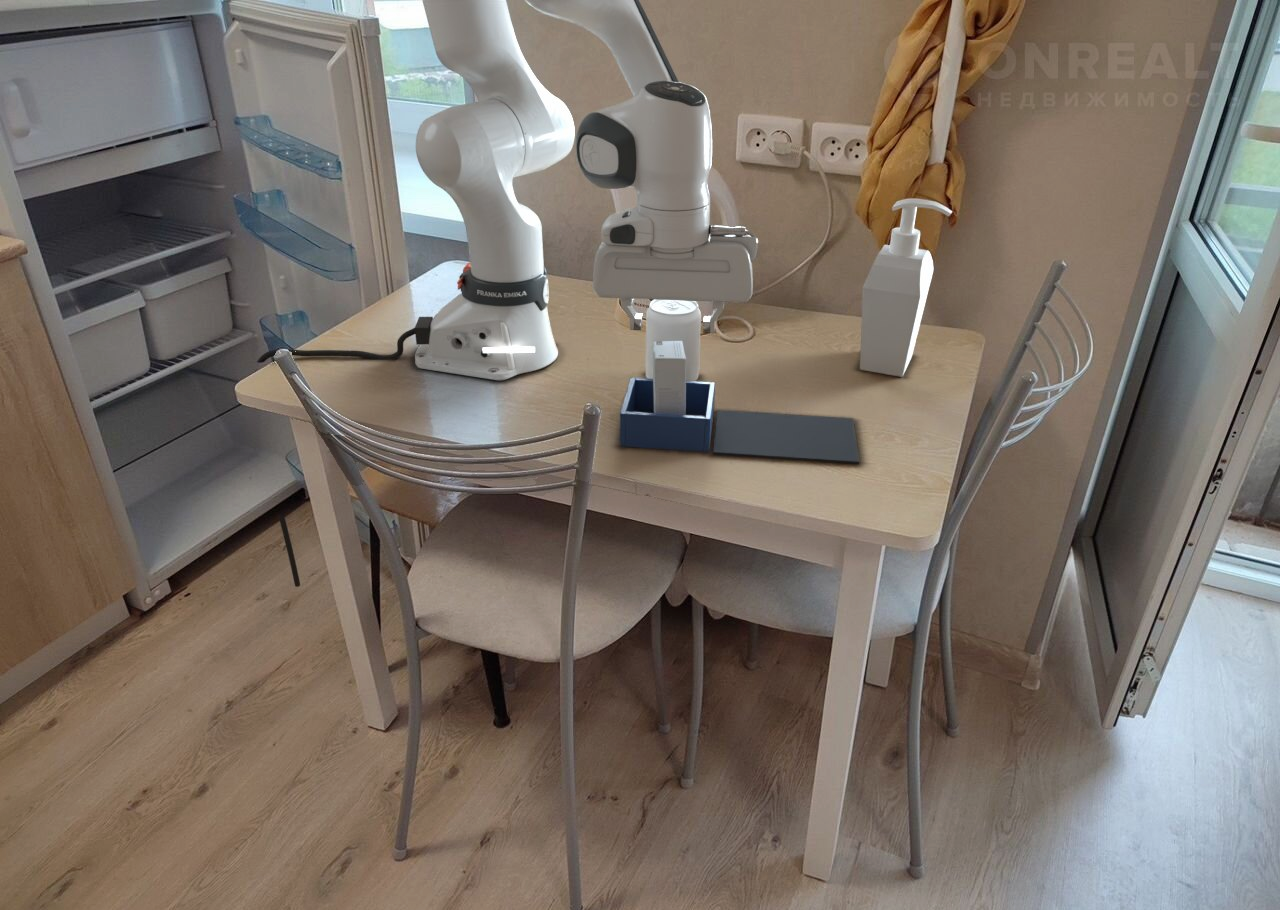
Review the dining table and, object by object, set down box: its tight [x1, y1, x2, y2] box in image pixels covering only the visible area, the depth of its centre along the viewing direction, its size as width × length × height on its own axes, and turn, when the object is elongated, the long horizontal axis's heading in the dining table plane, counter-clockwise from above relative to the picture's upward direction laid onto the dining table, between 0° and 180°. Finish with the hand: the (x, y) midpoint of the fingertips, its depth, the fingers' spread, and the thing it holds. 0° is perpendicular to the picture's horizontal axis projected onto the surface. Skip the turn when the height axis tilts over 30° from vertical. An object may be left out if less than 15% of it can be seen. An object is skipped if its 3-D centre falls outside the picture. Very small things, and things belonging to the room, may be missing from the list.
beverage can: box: [645, 299, 702, 381], centre depth 140 cm, size 8×8×12 cm
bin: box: [619, 377, 716, 453], centre depth 128 cm, size 12×11×5 cm
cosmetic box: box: [653, 341, 687, 415], centre depth 127 cm, size 6×4×12 cm
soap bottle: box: [859, 197, 953, 378], centre depth 142 cm, size 12×10×26 cm
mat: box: [712, 409, 860, 465], centre depth 128 cm, size 19×12×1 cm, turn 83°
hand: (672, 330), depth 122 cm, fingers open, 8 cm apart
